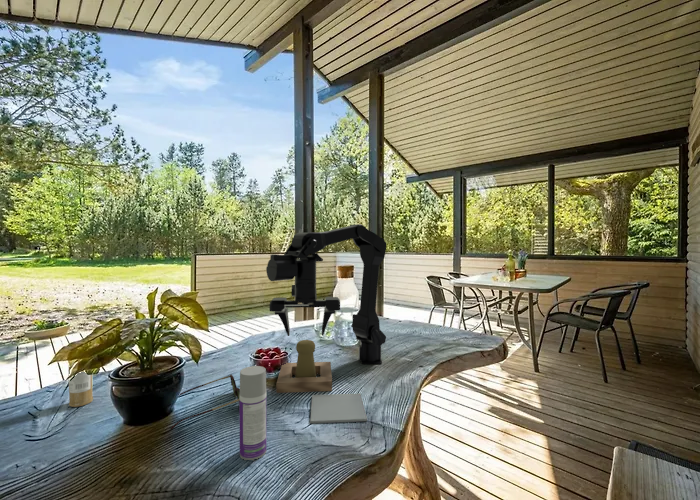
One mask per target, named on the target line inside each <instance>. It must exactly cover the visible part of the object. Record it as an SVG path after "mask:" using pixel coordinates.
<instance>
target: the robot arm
mask: <svg viewBox="0 0 700 500" xmlns="http://www.w3.org/2000/svg"><path fill="white" fill-rule="evenodd" d="M348 240H352V241H353V243H354V245H355V246H356V247H357V248H358V249H359V256H360V259H361V261H362V263H363V269H362V280H361V281H362V282H361V283H362V284H361V295H360V305H359V309H358V311H357V313H354V314H352V316H351V317H352V322H351V326H350V327H351V328H352V332H353V333H354V335H355V338H356V340H357V341H360V344H358V360H359V361H360V363H361V365H371V364H372V365H374V364H375V365H376V364H382V363H383V360H382V346H383V344H385V343H386V339H387V335H386V334H385V333H384V332H383V330H381V327H380V326H381V325H380V319H379V316H378V313H377V311H376V308H377V307H376V306H377V296H378V295H377V294H378V286H379V285H378V283H379V271H380V266H381V264H382V262H383V261H384V259H385V257H386V252H387V242H386V241H385V239H384V238H383V237H381V236H379V234H377V233H375V232H373V231H371V230H369V228H366V226H364V225H363V224H359V223H357V224H350V225H348V226H344V227H339V228H333V229H331V230H326V231H320V232H317V231H316V232H315V231H314V232H297V233H295V234H294V235H293V237H292V240H291V243H290V245H289V246H288V248H287V249H286V251H285V252H284V253H283V254H270V259H269V260H268V262H267V266H266V268H265V270H266V276H267V278H268V280H269V281H270V282H278V281H280V282H281V281H292V280H294V284H291V292H290V293H291V294H290V295H291V297H293V298H294V300H287V297H273V299H271V300H270V302H269V312H274V315H278V317H279V319H280V321H281V322H282V324H283V327H284V330H285V332H286V336H287V337H289V336H290V331H291V330H290V322H289V321H290V320H289V309H290V308H324V309H323V310H324V311H323V316H322V326H321V336H324V334H325V331H326V328H327V325H328V322H329V320H330V318H331V316H332V315H333V314H334V315H335V314H336V312H337V311H341V300H340V298H339V297H338V296H325V299H323V300H321V299H319V300H317V294H318V293H317V262H318V263H319V262H320V263H321V262H324V259H323V258H322V257H321V256H320V255H319V253H318V252H320V251H322V250H323V249H325V248H326V247H328V246H330V245H333V244H338V243H340V242H345V241H348Z"/></svg>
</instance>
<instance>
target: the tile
mask: <svg viewBox="0 0 700 500" xmlns="http://www.w3.org/2000/svg"><path fill="white" fill-rule="evenodd" d="M366 413H367V412H366V409H365V404H364V401H363V398H362V394H361V393H360V392H359V393H335V394H332V393H331V394H312V395H311V409H310V424H325V423H326V424H328V423H329V424H330V423H333V424H334V423H351V422H352V423H353V422H354V423H355V422H368V417H367V414H366Z"/></svg>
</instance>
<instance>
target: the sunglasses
mask: <svg viewBox="0 0 700 500" xmlns="http://www.w3.org/2000/svg"><path fill="white" fill-rule="evenodd" d="M229 378H230V385H231V386H232V393H233V395H234V397H235V398H236V399H234V400H232V401H230V402H228V403H226V404H223V405H220V406H218V407H214V408H211V409H208V410H205V411H202V412H199V413H196V414H192V415H190V416H187V417H184V418H182V419H180V420H178V421H177V422H176V423H175V424H174V425H172V426H171V427H170V428H169V429H172V430H173V429H174V428H176V426H178V425H179V424H180V423H181V422H183V421H186V420H189V419H192V418H195V417H198V416H200V415H204V414H207V413H209V412H213V411H216V410H218V409H220V408H223V407H226V406H229V405H231V404H234V403H238V402H239V397H240V387H237V384H236V380H235V378H234V376H233V374H231V373H230V374H229V375H227V376H223V377H221V378H218V379H215V380H212V381H209V382H205V383H203V384H201V385H198V386H195V387H192V388H190V389H187V390H185V391H183V392H181V393H179V394H180V395H179V394H178V395H179V396H182V395H183V394H186V393H189V392H191V391H193V390H197V389H198V388H201V387H204V386H207V385H210V384H212V383H215V382H218V381H221V380H225V379H229ZM179 396H178V397H179Z"/></svg>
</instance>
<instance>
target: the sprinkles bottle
mask: <svg viewBox="0 0 700 500" xmlns="http://www.w3.org/2000/svg"><path fill="white" fill-rule="evenodd" d="M69 374H70V367H69V366H68V375H69ZM93 382H94V381H93V374H92V375H87V374H86V373H85V372H81V373H78V374H77V375H76V376H75V377H74V378H73V379H72V380H71V381H69V380H68V393H69V394H68V395H69V399H68V400H69V401H68V406H69V407H73V408H79V407H83V406H86V405H89V404H91V403H93V401H94V396H93V386H94V385H93Z"/></svg>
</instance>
